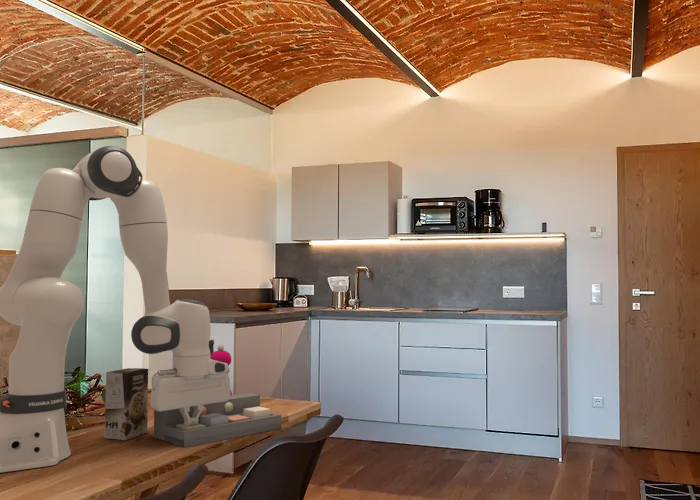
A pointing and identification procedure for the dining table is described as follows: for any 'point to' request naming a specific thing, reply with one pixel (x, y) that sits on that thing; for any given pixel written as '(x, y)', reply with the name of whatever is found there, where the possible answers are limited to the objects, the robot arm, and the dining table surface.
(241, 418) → the key terracotta
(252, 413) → the key cream
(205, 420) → the key slate
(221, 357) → the pepper mill
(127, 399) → the cookie box
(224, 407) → the keypad
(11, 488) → the dining table surface
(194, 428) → the key sage
